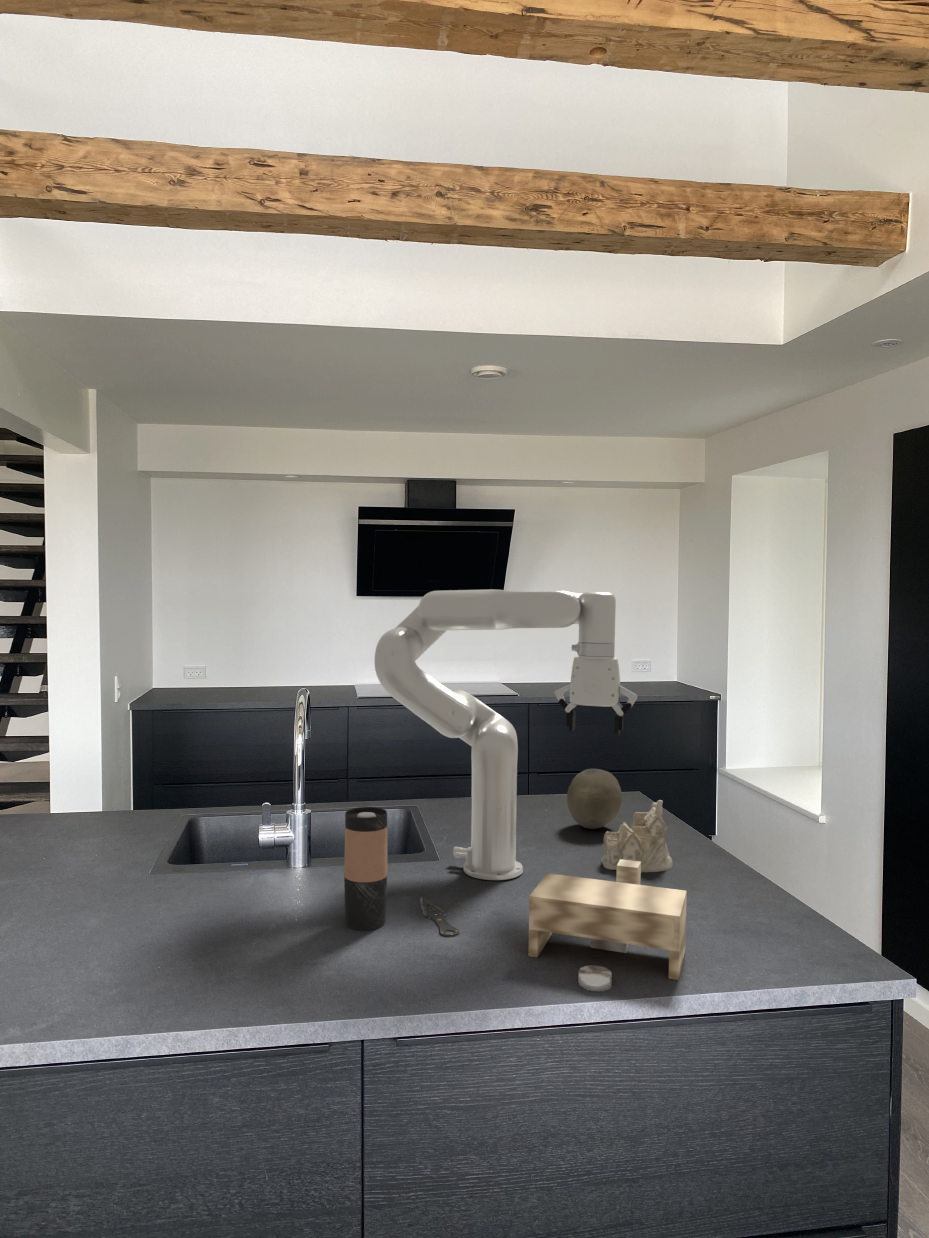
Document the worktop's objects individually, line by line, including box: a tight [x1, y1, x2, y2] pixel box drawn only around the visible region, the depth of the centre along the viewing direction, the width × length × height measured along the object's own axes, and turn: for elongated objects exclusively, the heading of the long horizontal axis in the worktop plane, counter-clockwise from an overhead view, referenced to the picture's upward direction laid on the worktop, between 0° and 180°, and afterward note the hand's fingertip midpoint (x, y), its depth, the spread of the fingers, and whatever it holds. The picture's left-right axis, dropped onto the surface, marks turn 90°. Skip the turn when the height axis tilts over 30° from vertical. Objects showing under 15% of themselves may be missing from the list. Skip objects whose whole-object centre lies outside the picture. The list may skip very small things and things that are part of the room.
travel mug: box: [343, 806, 388, 931], centre depth 153 cm, size 8×8×20 cm
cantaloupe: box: [566, 768, 623, 830], centre depth 215 cm, size 14×14×15 cm
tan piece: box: [589, 859, 642, 954], centre depth 155 cm, size 6×24×8 cm, turn 161°
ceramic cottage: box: [600, 799, 674, 873], centre depth 190 cm, size 16×16×15 cm
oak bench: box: [527, 872, 688, 981], centre depth 142 cm, size 24×12×10 cm, turn 71°
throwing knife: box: [419, 896, 460, 937], centre depth 158 cm, size 4×20×1 cm, turn 19°
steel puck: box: [577, 964, 613, 993], centre depth 131 cm, size 5×5×2 cm
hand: (594, 732), depth 180 cm, fingers open, 9 cm apart
